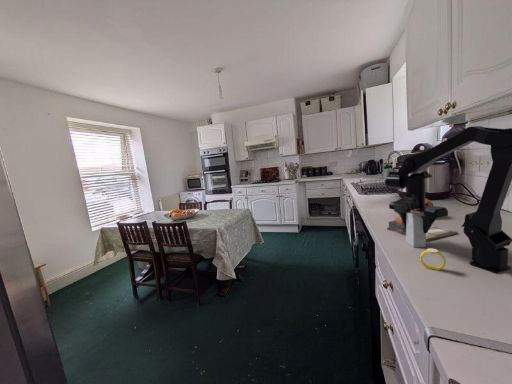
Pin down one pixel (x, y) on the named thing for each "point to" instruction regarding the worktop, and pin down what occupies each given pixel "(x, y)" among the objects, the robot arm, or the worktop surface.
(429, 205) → the onion
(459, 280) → the worktop surface
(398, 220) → the button
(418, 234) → the skincare box
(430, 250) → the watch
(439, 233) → the square tray
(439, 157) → the robot arm
